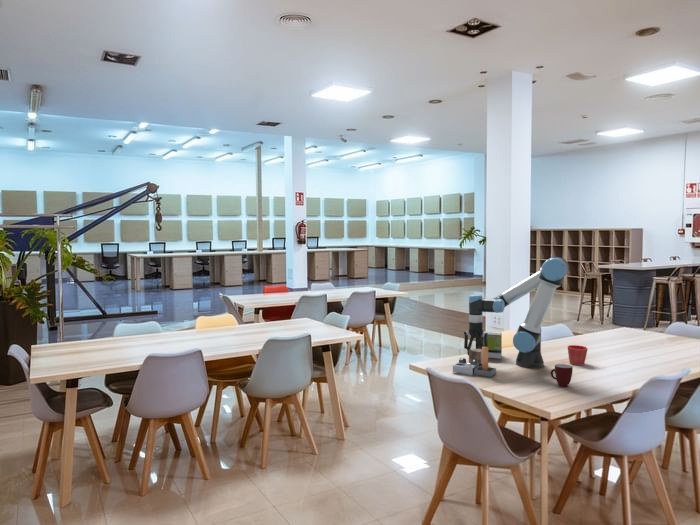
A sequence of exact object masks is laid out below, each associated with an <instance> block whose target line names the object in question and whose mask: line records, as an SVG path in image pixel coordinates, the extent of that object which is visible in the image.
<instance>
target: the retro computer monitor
mask: <svg viewBox="0 0 700 525" xmlns="http://www.w3.org/2000/svg"><path fill="white" fill-rule="evenodd" d="M484 332H485V333H488V336H487V339H488V359H502V351H503V350H502V347H503V346H502V345H503V344H502V343H503V342H502V335H503V334H502V332H501V331H484ZM481 337H482V341H483V344H484V336H483V334H482V335H481ZM484 347H485V344H484ZM475 349H481V346H480V343H479V340H478V338H475Z"/></svg>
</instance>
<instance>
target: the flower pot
mask: <svg viewBox="0 0 700 525" xmlns="http://www.w3.org/2000/svg"><path fill="white" fill-rule="evenodd" d="M567 352H568V353H567V354H568V360H569V364H571V365H574V366H585V362H586V360H587V354H588V347H587V346H583V345H576V344H570V345H567Z"/></svg>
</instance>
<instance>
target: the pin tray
mask: <svg viewBox="0 0 700 525" xmlns="http://www.w3.org/2000/svg"><path fill="white" fill-rule="evenodd" d="M496 370H497V368H496V367H489V366H488V371H483V370H482V365H479V366H478V367H477V368H476V369H474V375H473V376H476V375H477V376H478V377H483V376H484V378H493V377H494V376H495V375H496V374H497V373H496V372H497V371H496ZM493 375H494V376H493Z"/></svg>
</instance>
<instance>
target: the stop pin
mask: <svg viewBox="0 0 700 525" xmlns="http://www.w3.org/2000/svg"><path fill="white" fill-rule="evenodd" d="M481 366H482V370H483V371H488V367H489V358H488V347H482V363H481Z"/></svg>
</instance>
